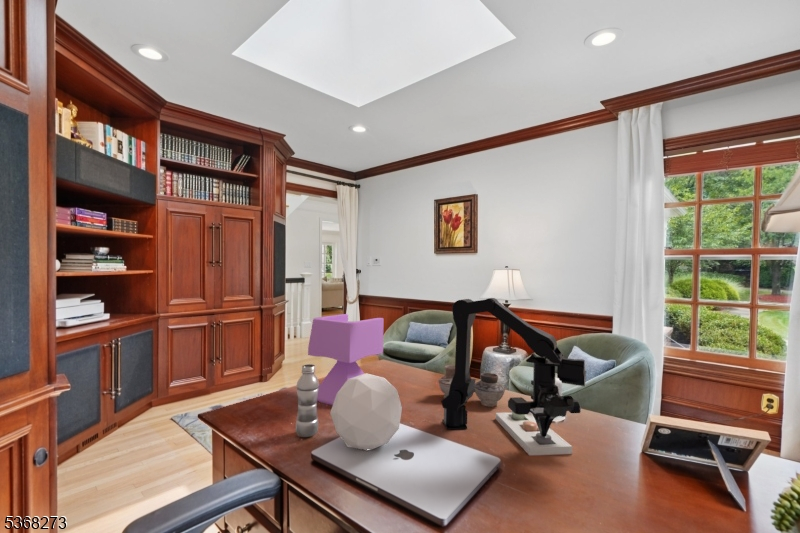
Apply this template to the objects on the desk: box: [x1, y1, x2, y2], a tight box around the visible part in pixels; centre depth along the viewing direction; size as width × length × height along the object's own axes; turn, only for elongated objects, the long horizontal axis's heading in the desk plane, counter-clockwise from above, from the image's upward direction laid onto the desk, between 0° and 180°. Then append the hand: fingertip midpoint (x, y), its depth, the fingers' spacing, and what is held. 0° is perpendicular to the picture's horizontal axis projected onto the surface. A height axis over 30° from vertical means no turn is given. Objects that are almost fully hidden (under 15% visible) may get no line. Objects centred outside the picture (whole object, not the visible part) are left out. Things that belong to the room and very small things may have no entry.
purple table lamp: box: [307, 313, 385, 406], centre depth 137 cm, size 20×20×30 cm
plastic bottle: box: [294, 363, 320, 438], centre depth 105 cm, size 6×7×20 cm
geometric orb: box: [329, 372, 403, 451], centre depth 100 cm, size 19×20×20 cm
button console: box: [495, 412, 573, 456], centre depth 109 cm, size 12×24×2 cm, turn 7°
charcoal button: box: [536, 433, 551, 445], centre depth 101 cm, size 4×4×3 cm
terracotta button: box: [523, 421, 537, 432], centre depth 109 cm, size 4×4×3 cm
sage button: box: [511, 410, 525, 421], centre depth 117 cm, size 4×4×3 cm
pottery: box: [437, 364, 506, 407], centre depth 137 cm, size 11×25×12 cm, turn 67°
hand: (543, 436), depth 101 cm, fingers closed, pressing on charcoal button
